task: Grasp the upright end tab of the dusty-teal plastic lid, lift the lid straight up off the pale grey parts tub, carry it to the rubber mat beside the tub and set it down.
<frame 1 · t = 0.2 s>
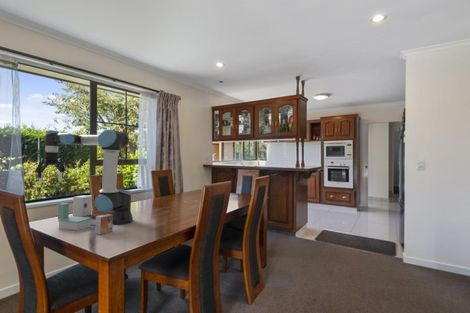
hand: (50, 181, 173), 28 cm above the table, fingers open, 13 cm apart
small box: (103, 232, 151), on the table
supplement box: (82, 215, 190), on the table
tub: (74, 227, 158), on the table
mat: (91, 222, 172), on the table
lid: (74, 220, 158), point 5 cm above the table, touching tub
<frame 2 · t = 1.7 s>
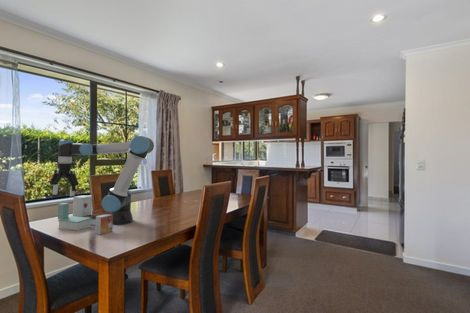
hand: (63, 195, 160), 21 cm above the table, fingers open, 13 cm apart
nothing on the table moved.
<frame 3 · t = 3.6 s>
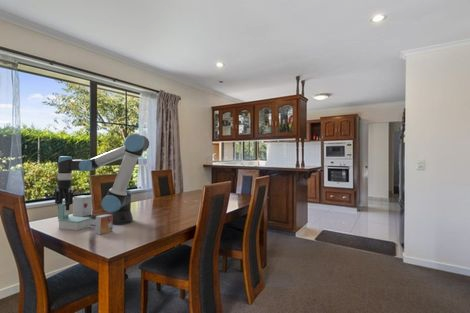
hand: (63, 214, 160), 8 cm above the table, fingers closed on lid, 4 cm apart
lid: (74, 220, 158), point 5 cm above the table, touching gripper, tub
everything else where it was.
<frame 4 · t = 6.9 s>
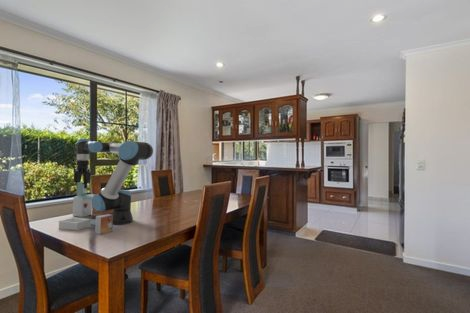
hand: (81, 192, 174), 20 cm above the table, fingers closed on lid, 4 cm apart
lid: (92, 197, 172), point 18 cm above the table, touching gripper
everything else where it was.
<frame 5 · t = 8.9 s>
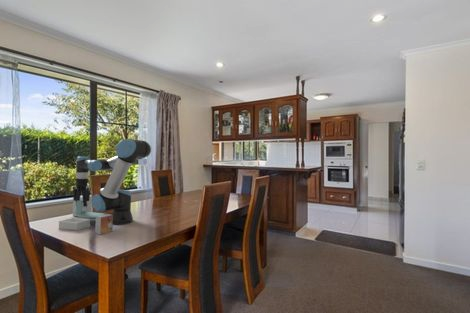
hand: (80, 210, 174), 7 cm above the table, fingers closed on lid, 4 cm apart
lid: (91, 215, 172), point 5 cm above the table, touching gripper
everything else where it was.
when the fingers open (5 cm above the table, at t = 10.3 s): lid stays where it is, resting on mat.
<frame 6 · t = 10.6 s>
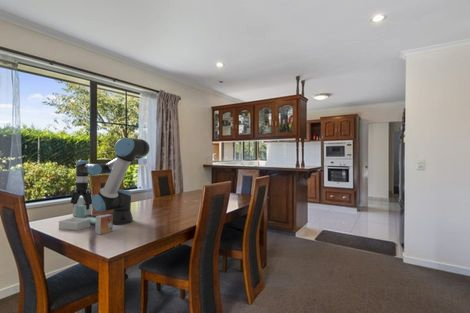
hand: (80, 213, 174), 5 cm above the table, fingers open, 9 cm apart
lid: (91, 220, 172), point 1 cm above the table, touching mat
everything else where it was.
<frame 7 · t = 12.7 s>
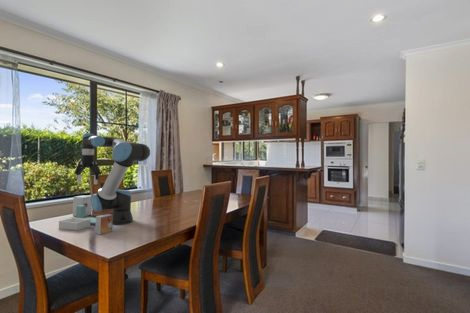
hand: (87, 184, 176), 26 cm above the table, fingers open, 13 cm apart
nothing on the table moved.
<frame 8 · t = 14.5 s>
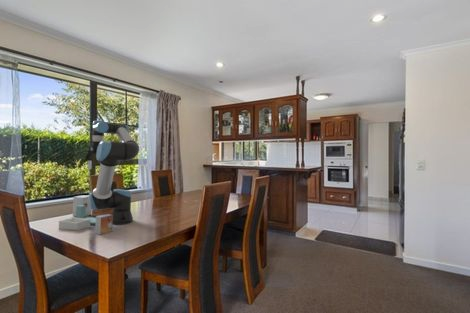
hand: (97, 169, 183), 37 cm above the table, fingers open, 13 cm apart
nothing on the table moved.
at the end: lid touching mat; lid inside the target area (0.5 cm from its centre), point 1.0 cm above the table; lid tilted 0° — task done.
